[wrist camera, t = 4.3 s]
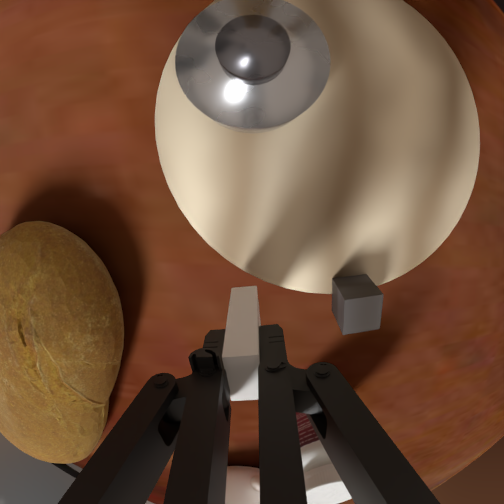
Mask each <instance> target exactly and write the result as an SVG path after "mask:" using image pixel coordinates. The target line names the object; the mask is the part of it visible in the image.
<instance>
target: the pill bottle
mask: <svg viewBox="0 0 504 504" xmlns="http://www.w3.org/2000/svg"><path fill="white" fill-rule="evenodd" d="M296 418H297V426H298V433H299V441H300V448H301V456H302V464H303V471H304V479H305V487H306V496H307V504H337V503H341V502H344V501H346V500H349V499H351V498H352V497H351V496H350V494H349V492H348V490H347V489H346V487H345V485H344V483H343V481H342V480H341V478H340V476H339V474H338V473H337V471H336V469H335V467H334V465H333V464H332V462H331V460H330V458H329V456H328V454H327V453H326V451H325V449H324V447H323V445H322V444H321V442H320V440H319V438H318V436H317V434H316V432H315V431H314V429H313V427H312V425H311V423H310V421H309V419H308V418H307V415H306V414H305V413H297V412H296Z"/></svg>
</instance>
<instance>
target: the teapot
mask: <svg viewBox="0 0 504 504" xmlns="http://www.w3.org/2000/svg"><path fill="white" fill-rule="evenodd" d="M225 504H260V476H259V468H254V467H248V466H227V478H226V494H225Z"/></svg>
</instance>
